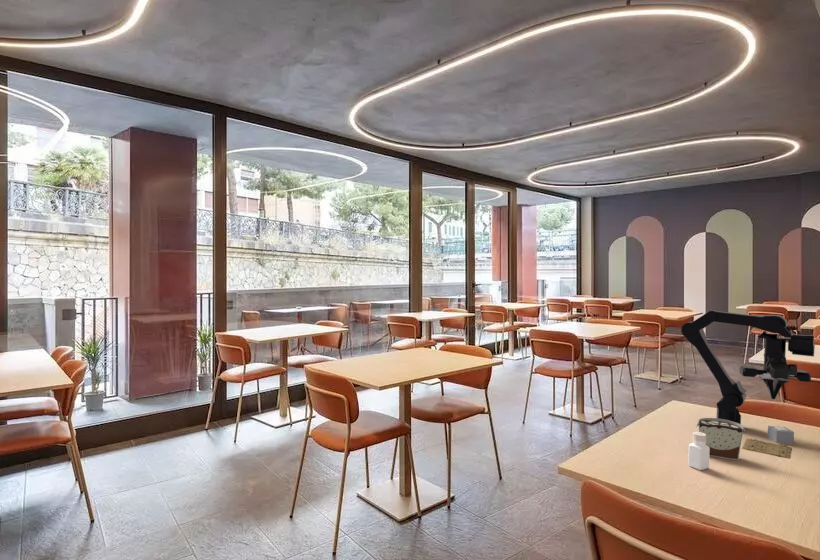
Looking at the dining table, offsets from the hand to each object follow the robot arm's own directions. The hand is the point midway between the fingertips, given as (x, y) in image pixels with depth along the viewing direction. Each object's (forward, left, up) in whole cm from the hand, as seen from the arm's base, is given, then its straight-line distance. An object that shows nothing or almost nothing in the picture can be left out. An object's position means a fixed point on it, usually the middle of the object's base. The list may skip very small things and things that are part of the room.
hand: (772, 398), depth 168 cm
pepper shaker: (-27, -42, -12) cm, 51 cm away
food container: (-20, -28, -12) cm, 37 cm away
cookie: (-5, -16, -13) cm, 21 cm away
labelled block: (+1, -6, -12) cm, 14 cm away
